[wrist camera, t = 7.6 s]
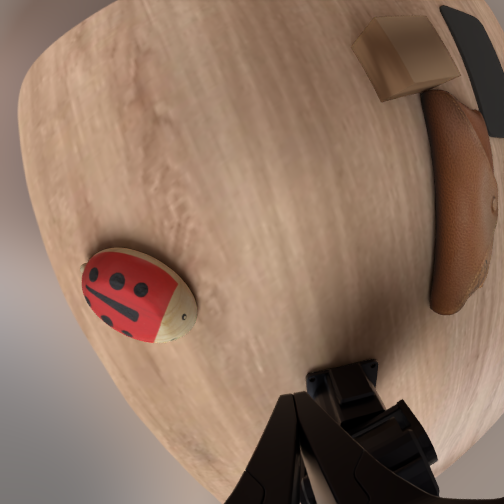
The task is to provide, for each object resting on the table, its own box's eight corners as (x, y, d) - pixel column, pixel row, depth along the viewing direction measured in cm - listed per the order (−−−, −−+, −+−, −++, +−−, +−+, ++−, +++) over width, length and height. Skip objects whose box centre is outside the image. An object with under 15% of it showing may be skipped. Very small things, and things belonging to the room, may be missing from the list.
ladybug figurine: (185, 348, 21) (175, 374, 18) (83, 299, 20) (61, 316, 17) (212, 278, 20) (204, 297, 16) (97, 227, 19) (72, 236, 16)
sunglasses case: (485, 289, 20) (502, 320, 14) (426, 289, 24) (429, 320, 18) (480, 106, 16) (499, 87, 10) (416, 105, 20) (419, 83, 14)
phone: (479, 18, 12) (522, 139, 16) (476, 21, 13) (517, 139, 16) (437, 2, 13) (488, 136, 16) (433, 5, 14) (483, 137, 17)
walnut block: (425, 91, 16) (461, 75, 11) (380, 102, 17) (414, 83, 12) (397, 40, 15) (426, 15, 10) (350, 47, 16) (374, 17, 11)
